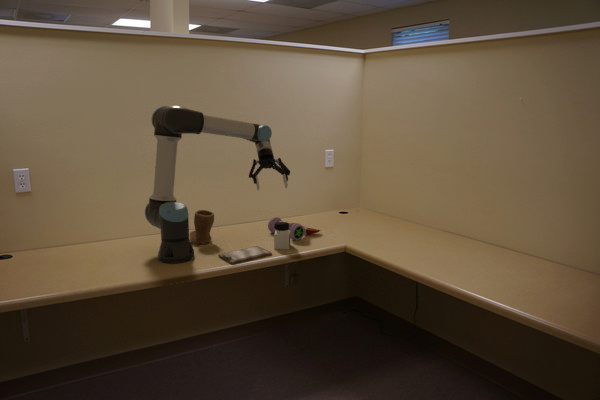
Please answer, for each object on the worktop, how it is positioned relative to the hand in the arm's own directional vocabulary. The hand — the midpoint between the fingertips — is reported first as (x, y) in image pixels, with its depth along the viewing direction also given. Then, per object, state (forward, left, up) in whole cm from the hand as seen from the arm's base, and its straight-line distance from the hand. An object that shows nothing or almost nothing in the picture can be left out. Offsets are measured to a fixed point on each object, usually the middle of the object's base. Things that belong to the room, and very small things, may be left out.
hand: (272, 187), depth 212 cm
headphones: (+16, +4, -27) cm, 32 cm away
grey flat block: (-22, -10, -27) cm, 36 cm away
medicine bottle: (-2, -10, -27) cm, 29 cm away
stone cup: (-27, +22, -27) cm, 44 cm away
